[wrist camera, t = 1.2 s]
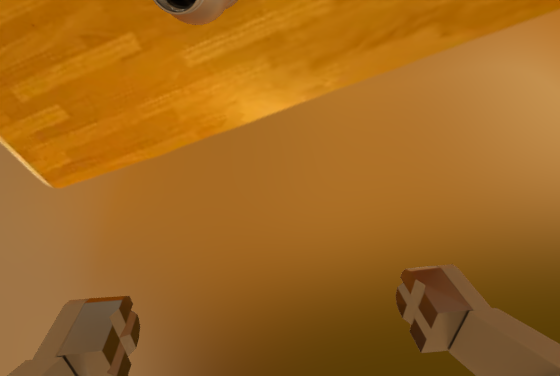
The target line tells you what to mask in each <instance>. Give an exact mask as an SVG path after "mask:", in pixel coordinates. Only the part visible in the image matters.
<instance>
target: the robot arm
mask: <svg viewBox="0 0 560 376" xmlns="http://www.w3.org/2000/svg"><path fill="white" fill-rule="evenodd" d="M401 279H402V281H403V283H402V284H401V285H400V286H399V287H398V288H397V292H396V303H397V306H398V310H399V312H400V314H401V316H402V318H403V319H405V320H406V321H407V322H409V323H410V324H411V327H410V333H411V335H412V337H413V339H414V340H415V342H416V344H417V346H418V348H419V350H420V352H421V353H425V352H435V351H445V350H446V351H447V350H449V353H450V354H452V355H453V356H454V357H455V358H456V359H457V360H459V361H460V362H461V363H462V364H463V365H464V366H465V367H467V368H468V369H469V370H470V371H471V372H472V373H474V374H475V375H476V376H560V344H559V343H557V342H555V341H553V340H552V339H550V338H548V337H546V336H545V335H543V334H541V333H539V332H538V331H536V330H534V329H532V328H531V327H529V326H527V325H525V324H524V323H522V322H520V321H518V320H517V319H515V318H513V317H511V316H510V315H508V314H506V313H504V312H503V311H501V310H499V309H497V308H491V307H490V306H489V305H488V303H487V302H486V301H485V300H484V299H483V298H482V296H481V295H480V294H479V293H478V292H477V290H476V289H475V288H474V287H473V286H472V285H471V283H470V282H469V281H468V280H467V279H466V277H465V276H464V275H463V274H462V273H461V272H460V270H459V269H458V268H457V267H456V266H454V265H452V264H451V265H441V266H428V267H419V268H410V269H405V270H404V271H403V272H402V274H401ZM132 305H133V303H132V301H131V298H130V297H129V296H120V297H105V298H90V299H79V300H70V301H69V302H67V303H66V304H65V305H64V306H63V308H62V310H61V311H60V313H59V315H58V317H57V318H56V320H55V322H54V323H53V325H52V327H51V329H50V330H49V332H48V334H47V335H46V337H45V339H44V341H43V342H42V344H41V346H40V347H39V349H38V351H37V353H36V354H35V356H34V358H33V360H27V361H25V362H24V363H22V364H21V365H20V366H19V367H17V368H16V369H15V370H14V371H13V372H11V373H10V374H9V375H8V376H128V374H129V370H130V367H131V362H130V360H129V358H128V356H129V355H130V354H131V353H132V352H133V351H134V350H135V349H136V347H137V343H138V339H139V332H140V324H139V318H138V315H137V314H136V313H135V312H133V311H131V308H132Z"/></svg>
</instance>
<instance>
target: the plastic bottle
mask: <svg viewBox="0 0 560 376" xmlns="http://www.w3.org/2000/svg"><path fill="white" fill-rule="evenodd" d="M153 1H154V2H155V3H156V4H157V5H158V6H159V7H160V8H161V9H162V10H164V11H166V12H168V13H170V14H171V15H172V16H174V17H175V18H177V19H178V20H180V21H182V22H185V23H187V24H193V25H202V24H206V23H209V22H211V21H213V20H215V19H216V18H218V17H219V16H220V15H221V14H222V13H223V11H224V10H225V9H227V8H229V7H231V6H232V5H234V4H235V3H236V2H237V1H238V0H153Z"/></svg>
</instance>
